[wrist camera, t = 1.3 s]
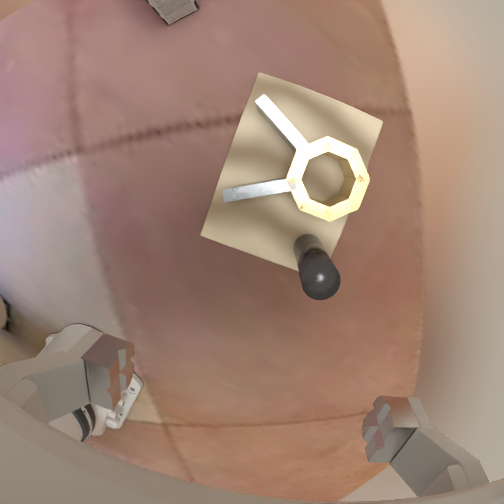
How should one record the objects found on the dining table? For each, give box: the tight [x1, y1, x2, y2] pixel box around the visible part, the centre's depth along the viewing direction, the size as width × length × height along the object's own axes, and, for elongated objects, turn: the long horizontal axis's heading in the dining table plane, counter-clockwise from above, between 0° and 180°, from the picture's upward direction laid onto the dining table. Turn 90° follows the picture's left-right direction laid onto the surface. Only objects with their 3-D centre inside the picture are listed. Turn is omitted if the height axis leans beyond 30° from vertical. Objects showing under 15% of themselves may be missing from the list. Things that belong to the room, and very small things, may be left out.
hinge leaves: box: [222, 94, 370, 222], centre depth 31 cm, size 11×13×5 cm
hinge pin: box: [294, 234, 340, 300], centre depth 30 cm, size 3×3×11 cm
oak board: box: [200, 72, 383, 271], centre depth 34 cm, size 20×15×2 cm
